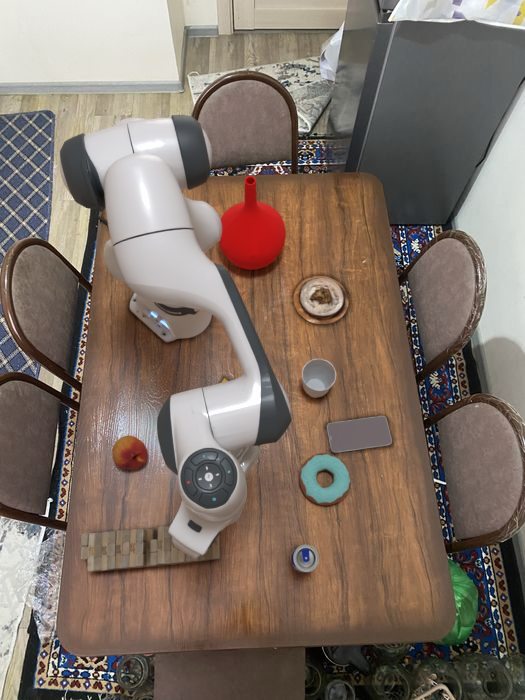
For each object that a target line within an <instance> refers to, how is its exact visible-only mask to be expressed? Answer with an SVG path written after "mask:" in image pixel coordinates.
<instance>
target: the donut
mask: <svg viewBox="0 0 525 700" xmlns="http://www.w3.org/2000/svg"><path fill="white" fill-rule="evenodd" d="M322 471H327V472H329V473H330V474H331V475H332V479H333V480H332V483H331V484H330V485H329V486H326V487H324V486H321V485H320V484H319V482H318V481H317V480H318V479H317V477H318V474H319V473H320V472H322ZM298 475H299V476H298V477H299V478H298V479H299V486H300V488H301V491H302V492H303V494H304V496H306V498H307V499H309V500H310V501H311V502H313V503H314V504H317V505H320V506H332V505H333V506H334V505H335V504H338V503H339V502H341V501H342V500H343V499H344V498H345V497H347V495H348V493H349V490H350V487H351V481H352V480H351V474H350V471H349V469H348V466H347V465H346V463H345V462H344V461H343V460H342V459H341V458H340V457H338V456H336V455H334V454H331V453H327V452H324V453H323V452H322V453H316V454H313V455H311V456H310V457H308V458H307V459H306V460H305V461H304V463H303V464H302V466H301V468H300V469H299V474H298Z"/></svg>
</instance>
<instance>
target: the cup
mask: <svg viewBox="0 0 525 700" xmlns="http://www.w3.org/2000/svg"><path fill="white" fill-rule="evenodd" d="M336 380H337V371H336V368H335V366H334V365H333V364H332V363H331V362H330V361H328V360H327V359H324V358H313V359H311V360H308V361H307V362H306V363H305V365H304V366H303V367H302V370H301V385H302V388H303V390H304V392H305V393H306V394H307V395H308V396H309V397H311V398H322V397H324V396H325V395H326V394H327V393H328V392H330V390H331V389H332V388H333V386H334V385H335V382H336Z"/></svg>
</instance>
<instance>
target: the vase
mask: <svg viewBox="0 0 525 700" xmlns="http://www.w3.org/2000/svg"><path fill="white" fill-rule="evenodd" d="M220 219H221V223H222V236H221V239H220V241H219V242H218V245H219V248H220V250H221V252H222V253H223V254H224V256H225V257H226V258H227V259H228V260H229V262H230V263H232V264H233V265H234V266H236V267H238V268H241V269H245V270H253V271H254V270H259V269H262V268H263V269H264V268H266V267H268V266H269V265H271V264H272V263H273V262H274V261H276V260H277V258H278V257H279V255H280V254H281V252H282V251H283V248H284V247H285V243H286V238H287V237H286V236H287V231H286V225H285V222H284V220H283V217H282V216H281V213H280V212H278V210H277V209H276V208H274V207H273V206H271V205H270V204H269V203H268V204H267V203H265V202H262V201H258V193H257V180H256V177H255V176H252V175H248V176H246V177H245V178H244V201H241V202H238V203H236V204H233V205H232V206H229V208H227V210H225V211H224V213H223V214H222V216H221V217H220Z"/></svg>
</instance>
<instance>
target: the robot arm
mask: <svg viewBox="0 0 525 700" xmlns="http://www.w3.org/2000/svg"><path fill="white" fill-rule="evenodd" d="M212 164H213V150H212V145H211V141H210V139H209V136H208V135H207V132H206V131H205V129H204V128H203V127H202V124H201V122H200V121H199V120H198V119H196V118H195V117H193V116H192V115H186V114H172V115H171V117H155V118H143V117H137V116H131V117H126V118H124V119H121V120H119V121H117V122H116V123H115V124H114V125H112V126H109V127H105V128H103V129H98V130H96V131H92V132H90V133H88V134H86V133H84V132H82V133H80V134H76V135H74V136H71V137H70V138H68V139H66V140H65V141H64V142H63V144H62V146H61V148H60V150H59V173H60V177H61V179H62V182H63V185H64V187H65V188H66V190H67V192H68V193H69V194H70V196H71V197H72V198H73V201H74V202H75V203H77V204H79V205H80V206H82V207H84V208H85V209H90V210H96V211H97V212H100V213H103V212H104V210H105V213H106V218H104V217H102V216H99V215H98V216H97V217H96V220H98V221H101V222H102V223H104V224H105V225H106V226H107V228H108V231H109V232H108V233H109V237H110V239H108V240H107V241H106V242H105V244H104V247H103V261H104V264H105V267H106V270H107V271H108V272H109V273H110V274H111V276H113V277H114V278H115V279H116V280H117V281H119V282H121V283H123V284H125V285H126V286H127V288H129V289H130V291H132V292H133V294H132V296H131V299H130V302H129V310H130V312H132V314H133V315H134V316H136V318H138V319H139V320H140V321H141V322H142V323H143V324H144V325H146V327H148V328H149V329H150V330H151V331H152V332H153V333H155V334H156V335H157V336H158V337H159V338H160V339H161V340H163V342H164V343H170V342H173V341H176V340H177V339H178V340H179V339H189V338H190V339H191V338H194V337H196V336H198V335H200V334H202V333H203V332H204V331H205V330H206V329H207V328H208V326H209V325H210V323H211V321H212V317H214V318H216V319H217V320H218V321H219V322H220V324H221V325H222V327H223V329H224V330H225V333H226V335H227V338H228V340H229V343H230V345H231V347H232V349H233V352H234V354H235V356H236V357H235V358H236V359H237V361H238V363H239V366H240V367H241V371H242V372H241V375H240V376H238V377H237V378H235V379H231V380H228V381H227V382H223V383H221V382H220V383H215V384H211V385H207V386H203V387H202V386H200V387H197V388H196V387H195V388H193V389H189V390H185V391H181V392H177V393H173V394H170V395H169V396H167V398H166V400H165V401H164V403H163V404H162V406H161V408H160V411H158V415H157V418H156V432H157V439H158V444H159V448H160V452H161V453H160V454H161V455H162V459H163V461H164V464H165V466H166V467H167V469H168V470H170V471H171V472H172V473H173V474H174V475H176V476H177V485H178V491H179V495H180V497H181V502H180V505H179V507H178V509H177V511H176V513H175V515H174V517H173V519H172V521H171V524H170V525H169V526H170V527H169V530H168V533H169V534H170V535H171V536H173V538H172V541H173V544H174V545H175V547H177V548H178V549H180V550H181V551H182V552H184V553H185V554H187V555H188V556H190V557H191V558H193V559H197V558H198V557H199V556H200V555H204V554H206V552H207V551H208V549H209V548H210V547H211V546H212V544H213V543H214V541H215V540H216V538H217V537H218V536H219V537H220V534H221V533H222V531H223V530H224V529H225V528H227V526H229V525H228V524H229V523H230V522H231V521H232V520H233V518H235V517H236V516H237V515H238V514H239V513H240V512H241V510H242V511H243V509H244V507H245V505H246V502H247V498H248V487H247V477H248V475H249V474H250V472H251V470H252V469H253V467H254V466H255V464H256V462H257V460H258V459H259V457H260V455H261V453H262V449H261V447H259V446H262V445H269V444H275V443H277V442H278V441H279V440H280V439H281V438H282V436H283V435H284V434H285V433H286V432H287V430H288V428H289V427H290V425H291V422H292V407H291V404H290V403H291V402H290V400H289V397H288V395H287V392H286V390H285V389H284V387H283V384H281V382H280V380H279V378H278V377H277V375H276V374H275V372H274V370H273V367H272V365H271V363H270V360H269V358H268V355H267V354H266V350H265V348H264V346H263V344H262V341H261V339H260V336H259V334H258V332H257V330H256V327H255V325H254V322H253V319H252V317H251V316H250V313H249V310H248V308H247V306H246V304H245V302H244V299H243V297H242V294H241V293H240V291H239V288H238V286H237V284H236V283H235V282H236V281H234V279H233V277H232V275H231V274H230V272H229V271H228V269H227V268H226V267H225V266H224V265H223V264H219V263H216V262H214V261H212V260H211V259H210V258H209V257H208V256H207V255H206V252H208V251H209V250H210V249H212V248H213V247H214V246H216V245H217V244H219V241H220V239H221V236H222V223H221V217H220V214H219V213H218V212H217V210H216V209H215V207H213V206H212V205H210V204H209V203H208V202H206V201H204V200H194V199H191V198H188V197H186V196H185V195H184V193H183V191H184V190H186V189H187V190H188V191H190V190H193V189H196V188H198V187H201V186H202V185H204V184H206V183H207V182H208V179H210V176H211V171H212Z"/></svg>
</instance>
